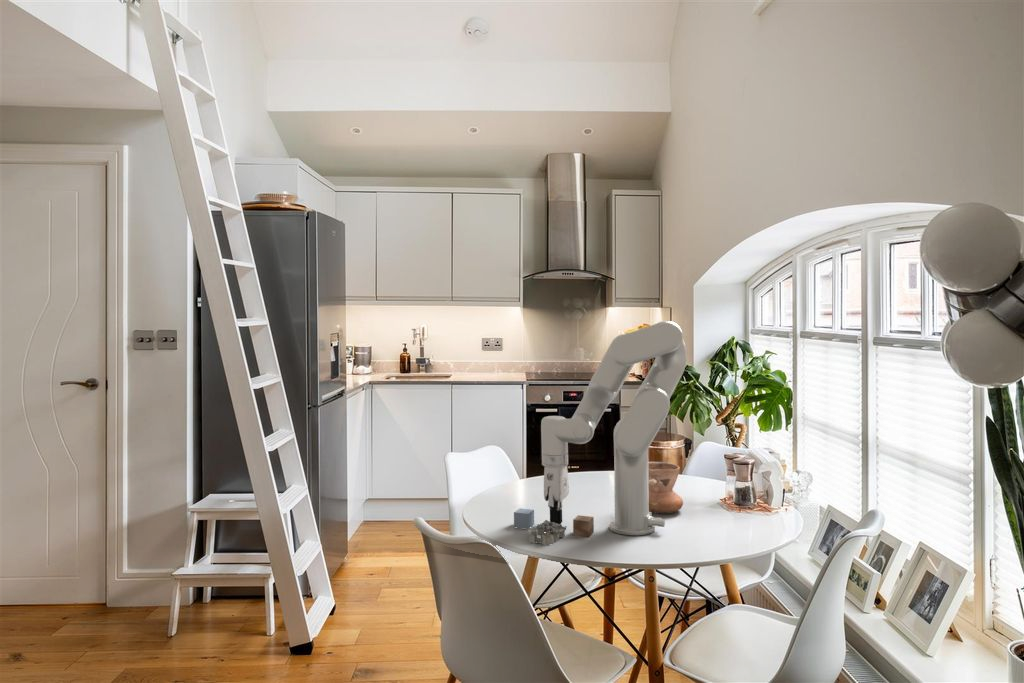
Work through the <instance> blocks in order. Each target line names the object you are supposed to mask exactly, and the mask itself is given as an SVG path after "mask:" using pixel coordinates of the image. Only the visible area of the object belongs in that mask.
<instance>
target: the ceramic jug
mask: <svg viewBox="0 0 1024 683" xmlns="http://www.w3.org/2000/svg"><path fill="white" fill-rule="evenodd" d="M680 468H681V467H680V466H678V465H676V464H674V463H671V462H666V461H665V462H664V461H649V512H652V514H656V515H667V514H668V515H669V514H672V513H675V512H678V511H679V510H681V509H682V507H683V505H684V501H683V498H682V497H681V496H680V495H679V494H678V493H676V492H675V491H674V490H673V488H674V487H675V485H676V482H677V480H678V477H679V474H680Z"/></svg>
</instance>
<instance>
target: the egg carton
mask: <svg viewBox="0 0 1024 683" xmlns="http://www.w3.org/2000/svg"><path fill="white" fill-rule="evenodd" d="M567 528H568V526H567V525H565V526H563V525H562V523H561V524H557V523H554V522H552V523H551V522H550V520H547V519H545V520H544V521H543V522H542V523H538V524H537V525H534V526H533V527H531V528H529V529H527V534H528V535H529V541H530V540H531V541H530V542H531V543H532V542H533V543H532V544H537V543H536V542H541V543H540V544H543V545H542V546H549V545H548V544H552V545H554V542H559V540H560V538H559V537H564V538H565V537H566V534H565V533H566V531H567ZM544 532H546V533H544Z"/></svg>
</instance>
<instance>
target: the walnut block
mask: <svg viewBox="0 0 1024 683" xmlns="http://www.w3.org/2000/svg"><path fill="white" fill-rule="evenodd" d="M594 528H595V525H594V516H590V515H589V516H588V515H579V514H578V515H577V516H575V518H573V519H572V531H573V532H572V533H573V534H572V535H573V536H574V537H581V538H591V536H592V535H593V534H594V533H595V529H594Z"/></svg>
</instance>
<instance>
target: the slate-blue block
mask: <svg viewBox="0 0 1024 683" xmlns="http://www.w3.org/2000/svg"><path fill="white" fill-rule="evenodd" d="M533 525H534V526H535V509H529V508H522V507H521V508H518V509H517V510H515V511H514V512H513V528H514V527H517V528H516V529H521V528H526V529H525V530H528V529H529V528H530V527H531V528H533V527H534V526H533Z"/></svg>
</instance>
